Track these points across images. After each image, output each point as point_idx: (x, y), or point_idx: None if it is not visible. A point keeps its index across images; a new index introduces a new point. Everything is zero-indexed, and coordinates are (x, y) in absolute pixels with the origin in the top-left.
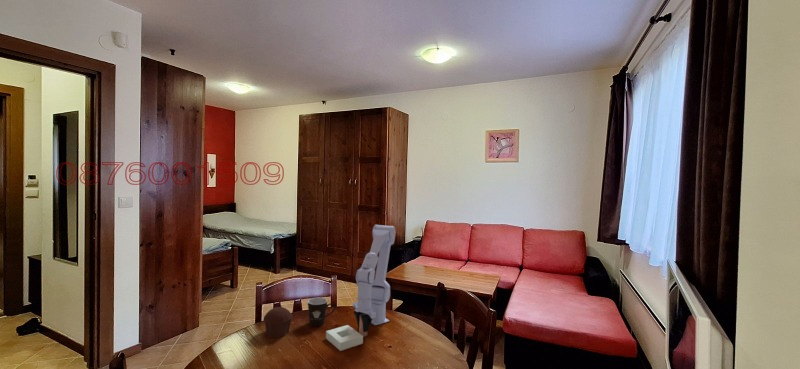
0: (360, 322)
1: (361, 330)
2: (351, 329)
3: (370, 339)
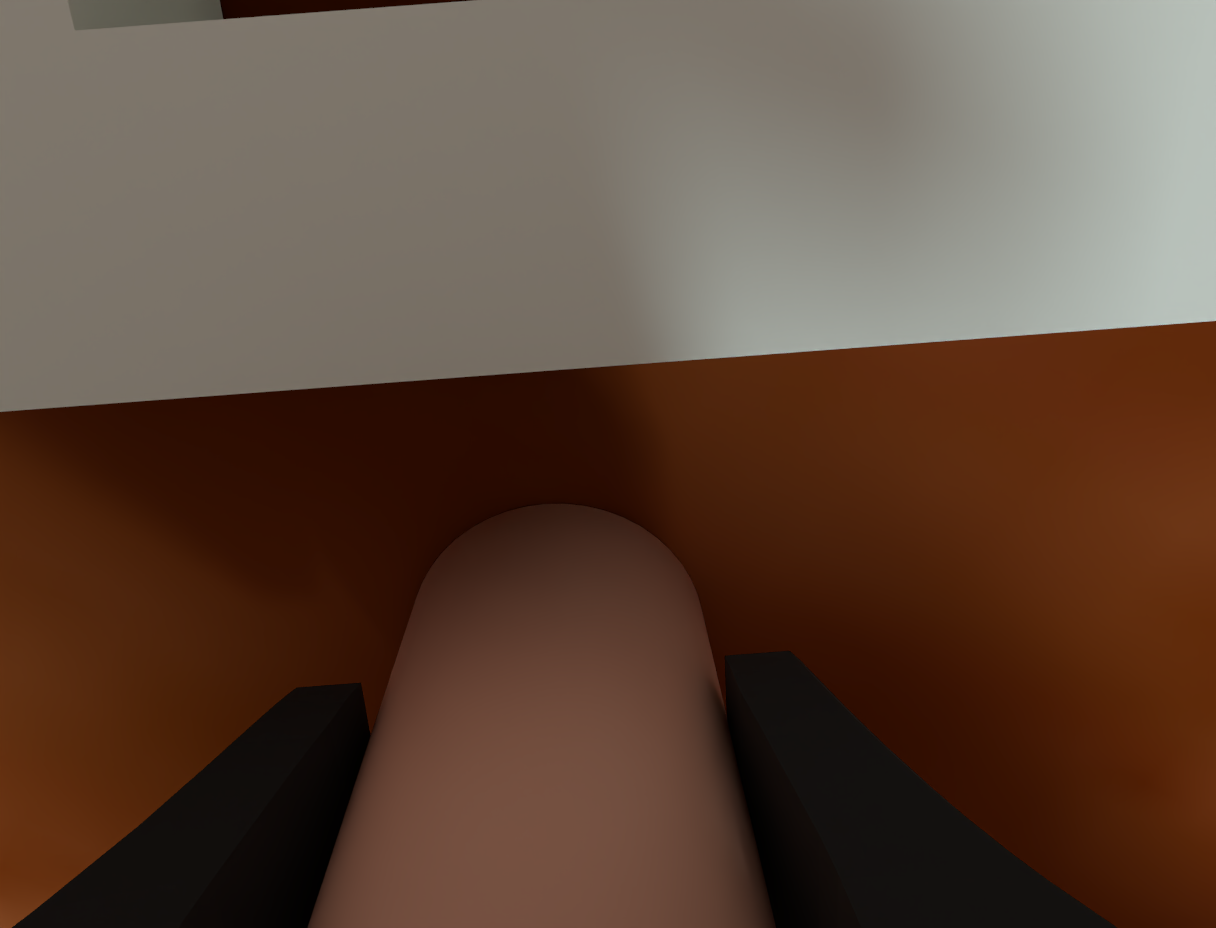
0: (465, 902)
1: (440, 650)
2: (691, 238)
3: (136, 693)
